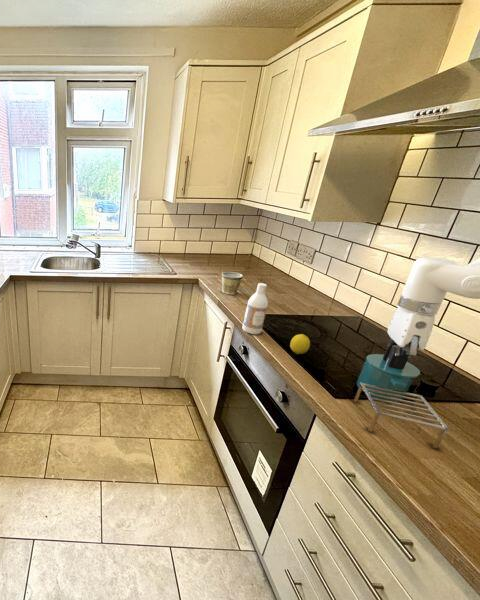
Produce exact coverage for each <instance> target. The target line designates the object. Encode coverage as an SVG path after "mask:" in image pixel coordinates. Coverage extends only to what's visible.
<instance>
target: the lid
mask: <svg viewBox="0 0 480 600" xmlns="http://www.w3.org/2000/svg"><path fill="white" fill-rule="evenodd" d="M397 346H398V345H393V346H392V348H391V350H390V352H389V355H388V357H387V360H386V361H385V360H383V356H384V354H380V353H372V354H368V355H367V356H366V357H365V361H366V360H367V362H368V363H369V364H370V365H371V366H373V367H375V368H377V369H379V370H381V371H383V372H386V373H389V374H392V375H396V376H400V377H407V378H414V379H415V378H418V377H419V376H420V374H421V370H420V369H419V368H418V367H416V365H414V364H412V363H410V362H409V361H407V362H406V365H405V367H404V369H396V368H391V367H389V366H388V364H389V362H390V359H391V357H392V355H393V354H395V352H396V349H397ZM402 350H408V349H404V348H402ZM402 350H401V351H402Z"/></svg>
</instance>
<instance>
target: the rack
mask: <svg viewBox="0 0 480 600" xmlns="http://www.w3.org/2000/svg"><path fill="white" fill-rule="evenodd" d="M359 384H360V386H359V387H357V391H356V393H355V395H354V398H353V400H352V401H353V403H358V401H359V398H360V396H361V393H362V392H363V391H364V392H363V393H364V395H365V397H366V398H367V400H368V402H369V403H370V405H371V407H372V408H373V410H374V412H375V413H374V416H373V418H372V421H371V423H370V425H369V427H368V428H367V431H368V432H371V433H372V432H373V431H374V429H375V427H376V424H377V422H378V420H379V418H380V416H384V417H388V418H392V419H397V420H401V421H405V422H409V423H413V424H417V425H422V426H426V427H431V428H435V429H439V430H440V431H439V433H438V435H437V437H436V438H435V440H434V442H433V444H432V445H431V447H432V448H433V449H438V448H439V446H440V444H441V443H442V441H443V439H444V437H445V436H446V434H447V432H450V431H451V429H450V428H449V427H448V425H447V424H446V423H445V422H444V420H443V419H442V418H441V417H440V416H439V414H438V413H437V412H436V411H435V410H434V409H433V407H432V406H431V405H430V403H429V402H428V401H427V400H426V399H425V398H424V397H423V395H421V394H416V393H412V392H408V391H407V392H403V391H398V390H393V389H388V388H384V387H379V386H374V385H370V384H365V383H359ZM365 386H367V387H371V388H376V389H381V390H385V391H390V392H395V393H399V394H404V395H405V396H401V395H396V394H392V393H387V392H382V391H378V390H373V389H368V388H366V387H365ZM362 389H363V391H362ZM367 390H369V391H373V392H378V393H383V394H387V395H392V396H396V397H401V398H404V399H403V400H401V399H397V398H392V397H388V396H383V395H378V394H374V393H369V392H368V391H367ZM370 395H374V396H378V397H383V398H388V399H392V400H397V401H401V402H402V403H400V402H392V401H387V400H383V399H378V398H375V397H372V396H370ZM405 399H406V400H405ZM378 401H379V402H378ZM390 404H392V405H390ZM410 404H411V405H410ZM378 405H379V406H378ZM396 405H397V406H396ZM380 406H383V407H380ZM400 406H401V407H400ZM419 406H420V407H419ZM384 407H388V408H384ZM390 408H391V409H390ZM409 408H410V409H409ZM393 409H396V410H393ZM380 410H381V411H380ZM398 410H400V411H398ZM416 410H419V411H416ZM384 411H385V412H384ZM403 411H404V412H403ZM407 412H408V413H407ZM425 412H426V413H425ZM393 413H394V414H393ZM396 414H398V415H396ZM401 415H403V416H401ZM420 415H422V416H420ZM405 416H407V417H405ZM423 416H424V417H423ZM409 417H411V418H409ZM428 417H430V418H428ZM414 418H415V419H414ZM432 418H434V419H432ZM418 419H419V420H418ZM422 420H424V421H422ZM426 421H428V422H426ZM430 422H433V423H430ZM434 423H436V424H434Z"/></svg>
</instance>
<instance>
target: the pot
mask: <svg viewBox="0 0 480 600" xmlns="http://www.w3.org/2000/svg"><path fill="white" fill-rule="evenodd" d="M414 379H415V377H414V378H407V377H400V376H396V375H392V374H389V373H386V372H383V371H381V370H379V369H377V368H375V367H373V366H371V365H370V364H369V363H368V362H367V360H366V359H365V361H364V363H363V365H362V368H361V370H360V373H359V375H358V378H357V380H356V386H357V388H359V386H360V384H359V383H365V384H370V385H374V386H379V387H384V388H388V389H393V390H398V391H403V392H407V393H408V392H409V388H410V387H411V385H412V383H413V381H414ZM365 387H366V388H368V389H373V390H378V391H382V392H387V393H392V394H396V395H401V396H406V395H404V394H399V393H395V392H390V391H385V390H381V389H376V388H371V387H367V386H365ZM367 391H368V392H369V393H374V394H378V395H383V396H388V397H392V398H397V399H401V400H405V398H401V397H396V396H392V395H387V394H383V393H378V392H373V391H369V390H367ZM361 392H363V393H364V391H363V389H362V391H361ZM370 396H371V397H374V398H378V399H383V400H387V401H392V402H396V403H400V402H401V401H397V400H392V399H388V398H383V397H378V396H374V395H370Z"/></svg>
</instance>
